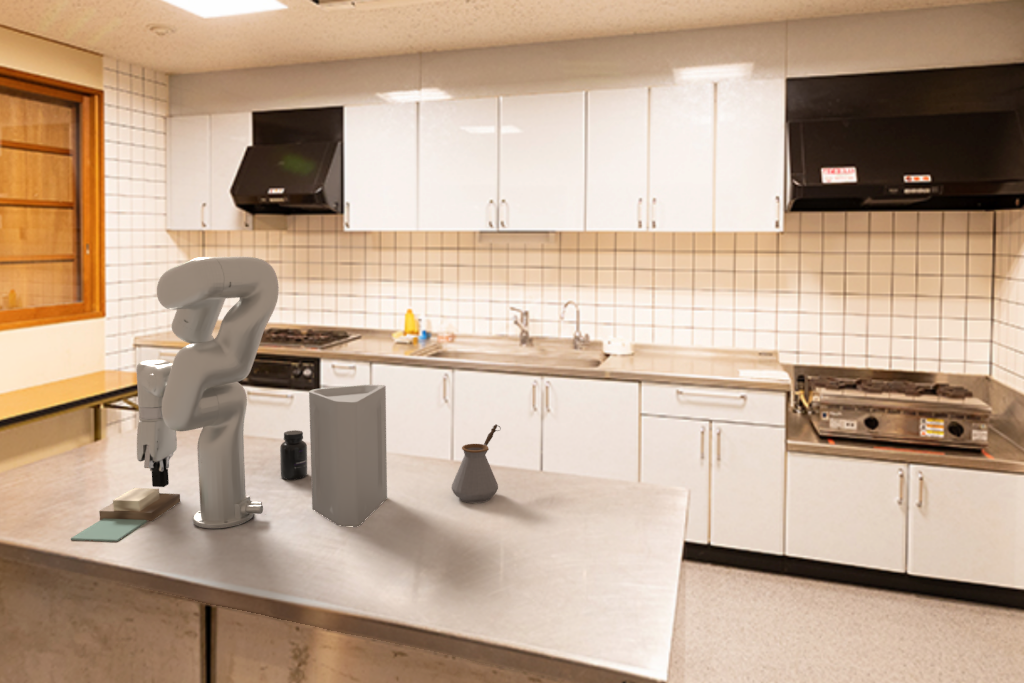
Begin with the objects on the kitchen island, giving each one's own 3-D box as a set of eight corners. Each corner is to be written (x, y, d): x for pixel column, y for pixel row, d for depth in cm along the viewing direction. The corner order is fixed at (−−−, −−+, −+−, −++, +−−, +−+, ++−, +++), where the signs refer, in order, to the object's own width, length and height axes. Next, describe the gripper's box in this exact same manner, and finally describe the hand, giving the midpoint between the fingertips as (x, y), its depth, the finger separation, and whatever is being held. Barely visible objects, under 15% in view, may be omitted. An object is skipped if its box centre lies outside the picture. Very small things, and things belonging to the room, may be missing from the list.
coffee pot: (488, 508, 167) (488, 447, 165) (443, 502, 171) (443, 442, 169) (517, 481, 187) (517, 425, 185) (476, 475, 191) (477, 421, 189)
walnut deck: (180, 501, 169) (179, 493, 169) (152, 521, 157) (151, 512, 157) (131, 500, 170) (131, 492, 170) (99, 519, 158) (99, 510, 158)
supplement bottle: (303, 480, 185) (301, 436, 184) (277, 480, 185) (275, 435, 184) (311, 472, 192) (309, 429, 190) (286, 471, 192) (284, 428, 191)
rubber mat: (146, 521, 157) (146, 519, 157) (117, 541, 146) (117, 539, 146) (103, 520, 158) (103, 518, 158) (70, 539, 147) (70, 538, 147)
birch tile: (159, 498, 166) (158, 488, 165) (139, 511, 158) (139, 501, 157) (134, 497, 166) (134, 488, 166) (113, 510, 158) (113, 500, 158)
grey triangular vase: (331, 493, 176) (328, 382, 173) (388, 497, 174) (386, 385, 170) (295, 522, 158) (291, 399, 154) (358, 527, 155) (355, 402, 151)
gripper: (158, 404, 177) (162, 475, 179) (122, 419, 162) (127, 496, 164) (187, 405, 176) (191, 476, 179) (154, 420, 161) (158, 497, 164)
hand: (160, 485), depth 172 cm, fingers closed
